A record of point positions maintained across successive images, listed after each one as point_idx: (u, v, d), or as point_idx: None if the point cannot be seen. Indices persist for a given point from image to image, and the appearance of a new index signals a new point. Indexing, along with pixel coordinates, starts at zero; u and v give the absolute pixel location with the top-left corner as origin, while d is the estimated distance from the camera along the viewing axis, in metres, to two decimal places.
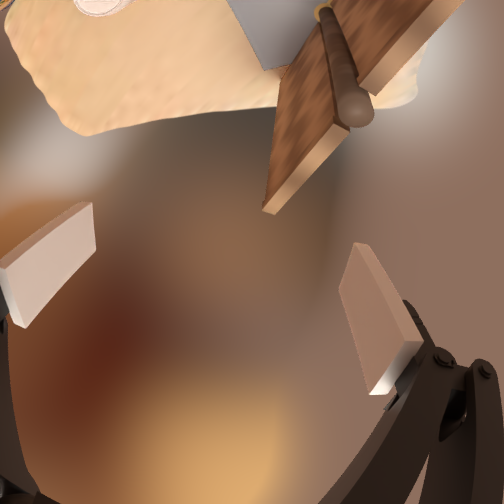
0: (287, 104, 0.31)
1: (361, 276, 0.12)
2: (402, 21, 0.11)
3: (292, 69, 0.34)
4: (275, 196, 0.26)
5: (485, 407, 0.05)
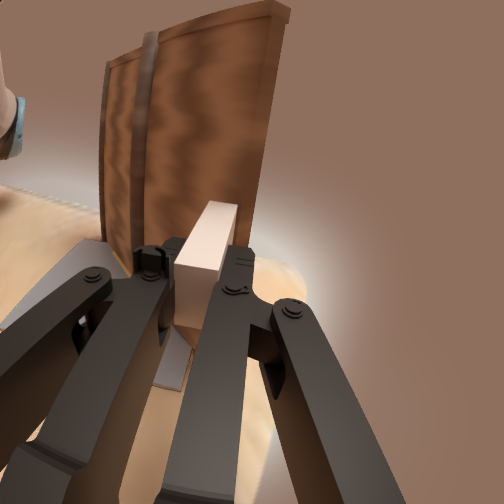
0: None
1: None
2: (123, 69, 0.24)
3: None
4: (236, 7, 0.11)
5: (304, 353, 0.07)
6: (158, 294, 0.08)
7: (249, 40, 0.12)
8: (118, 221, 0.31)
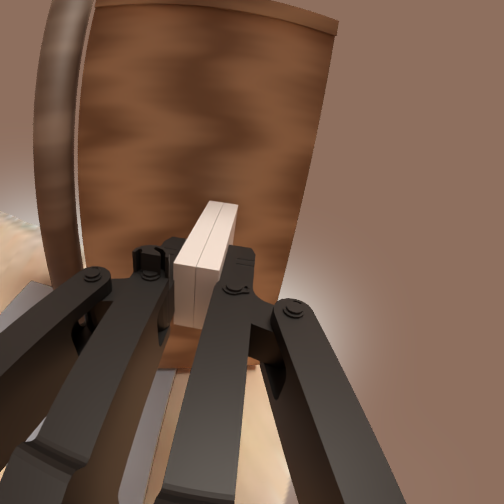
0: None
1: None
2: None
3: None
4: (289, 5, 0.10)
5: (305, 353, 0.07)
6: (157, 294, 0.08)
7: (309, 50, 0.12)
8: None
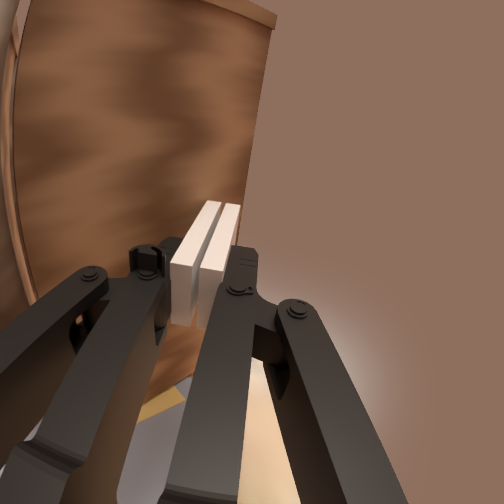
0: None
1: None
2: None
3: (180, 355, 0.19)
4: None
5: (309, 354, 0.07)
6: (154, 293, 0.08)
7: (252, 43, 0.12)
8: None
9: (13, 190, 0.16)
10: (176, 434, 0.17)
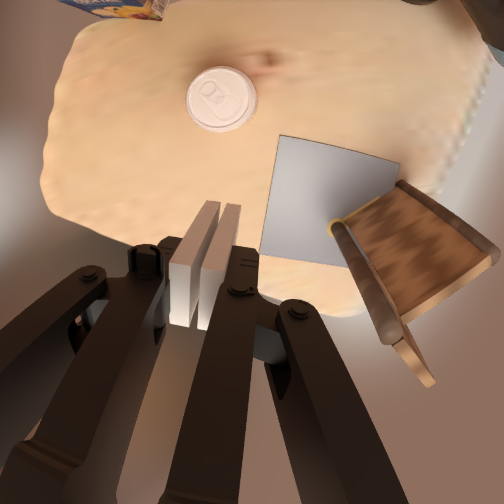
0: None
1: None
2: (439, 278, 0.24)
3: None
4: (422, 380, 0.28)
5: (310, 354, 0.07)
6: (153, 293, 0.08)
7: None
8: (377, 218, 0.40)
9: None
10: (340, 265, 0.50)
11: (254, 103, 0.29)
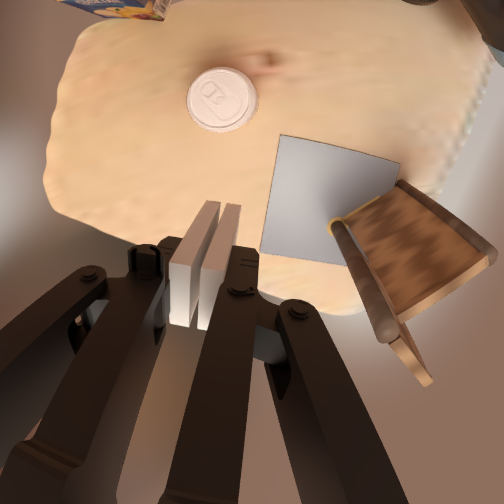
0: None
1: None
2: (436, 277, 0.25)
3: None
4: (419, 379, 0.28)
5: (310, 354, 0.07)
6: (153, 293, 0.08)
7: None
8: (376, 218, 0.40)
9: None
10: (340, 264, 0.50)
11: (254, 103, 0.30)
